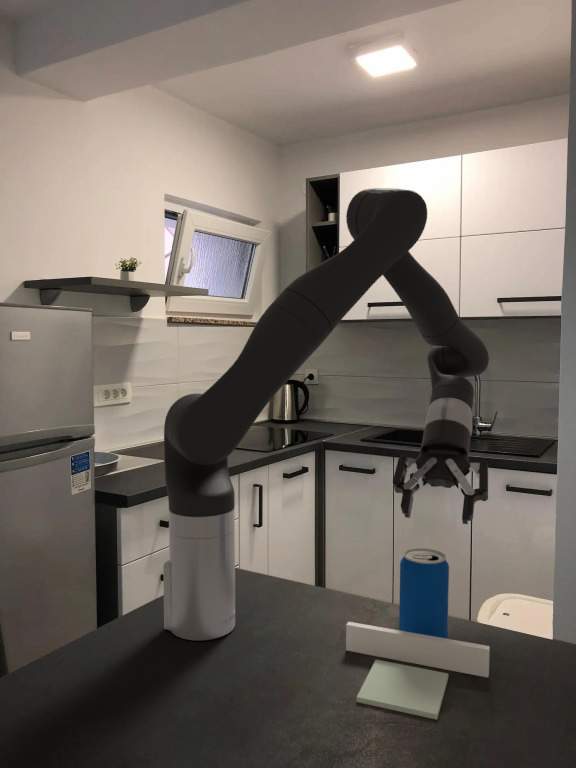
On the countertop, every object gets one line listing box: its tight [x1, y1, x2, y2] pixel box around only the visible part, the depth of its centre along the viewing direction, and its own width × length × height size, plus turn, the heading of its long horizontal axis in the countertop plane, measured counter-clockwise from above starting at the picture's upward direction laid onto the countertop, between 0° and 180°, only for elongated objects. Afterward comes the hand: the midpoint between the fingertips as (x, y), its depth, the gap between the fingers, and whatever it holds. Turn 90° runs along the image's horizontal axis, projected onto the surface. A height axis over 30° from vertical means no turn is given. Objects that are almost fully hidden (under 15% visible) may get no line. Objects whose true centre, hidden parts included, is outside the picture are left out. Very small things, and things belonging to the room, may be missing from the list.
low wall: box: [345, 621, 491, 678], centre depth 81 cm, size 18×1×4 cm, turn 68°
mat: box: [356, 659, 449, 720], centre depth 74 cm, size 9×9×1 cm
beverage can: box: [398, 547, 450, 639], centre depth 86 cm, size 6×6×12 cm
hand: (435, 518), depth 94 cm, fingers open, 8 cm apart
